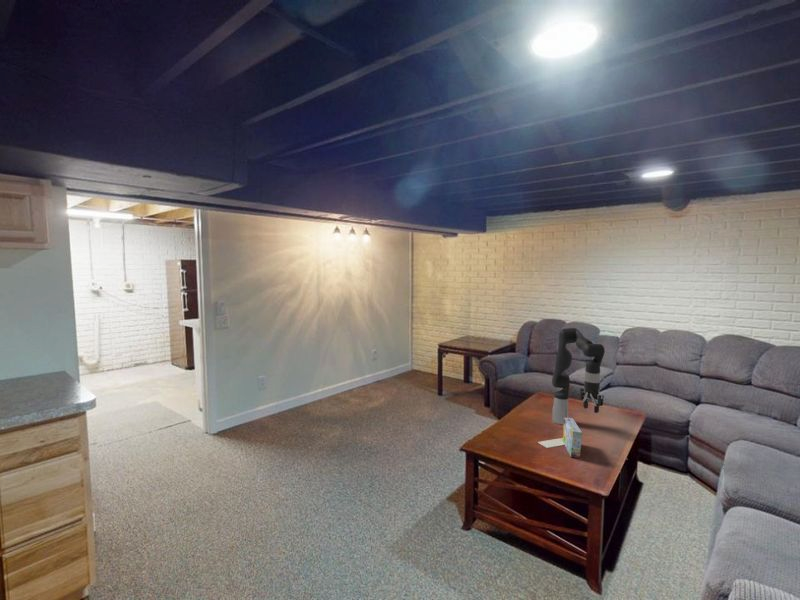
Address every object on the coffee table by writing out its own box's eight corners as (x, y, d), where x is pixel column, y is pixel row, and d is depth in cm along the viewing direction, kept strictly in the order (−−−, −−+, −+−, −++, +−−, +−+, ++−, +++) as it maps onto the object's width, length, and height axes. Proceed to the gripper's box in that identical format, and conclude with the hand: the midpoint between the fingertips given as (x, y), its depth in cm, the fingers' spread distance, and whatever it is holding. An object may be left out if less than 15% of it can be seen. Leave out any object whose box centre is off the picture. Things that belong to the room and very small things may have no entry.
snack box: (581, 458, 220) (582, 432, 218) (570, 457, 221) (571, 431, 219) (571, 441, 241) (573, 417, 239) (561, 440, 242) (563, 416, 240)
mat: (537, 442, 240) (537, 441, 240) (569, 437, 248) (569, 436, 248) (547, 448, 232) (547, 447, 232) (579, 442, 240) (579, 441, 240)
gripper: (576, 377, 221) (575, 406, 222) (597, 384, 207) (596, 415, 208) (587, 376, 223) (586, 405, 224) (608, 383, 210) (607, 414, 211)
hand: (590, 410), depth 216 cm, fingers open, 6 cm apart
